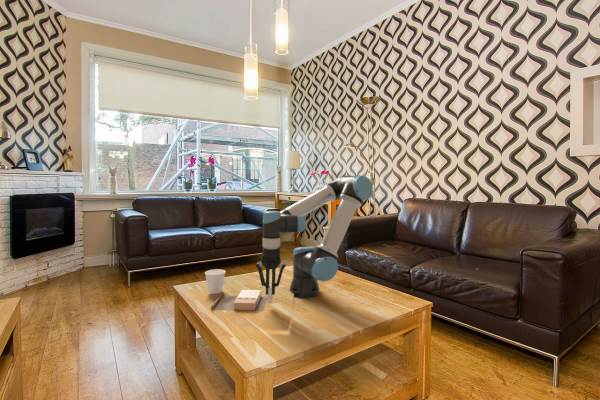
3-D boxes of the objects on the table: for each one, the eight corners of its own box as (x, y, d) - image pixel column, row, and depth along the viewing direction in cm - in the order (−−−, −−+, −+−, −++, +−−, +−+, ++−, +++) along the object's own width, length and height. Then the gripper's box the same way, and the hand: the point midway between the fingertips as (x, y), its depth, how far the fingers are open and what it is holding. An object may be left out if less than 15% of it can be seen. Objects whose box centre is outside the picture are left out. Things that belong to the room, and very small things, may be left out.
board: (268, 299, 151) (268, 293, 151) (262, 313, 134) (262, 307, 134) (222, 298, 152) (222, 292, 152) (211, 312, 135) (211, 306, 135)
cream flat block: (260, 296, 151) (260, 290, 151) (257, 305, 140) (257, 298, 140) (242, 296, 152) (242, 289, 151) (236, 304, 141) (236, 297, 140)
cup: (220, 298, 152) (220, 275, 151) (201, 296, 154) (201, 274, 153) (228, 291, 161) (228, 269, 161) (210, 289, 163) (210, 268, 163)
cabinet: (256, 305, 140) (256, 298, 140) (254, 310, 135) (254, 302, 135) (236, 305, 140) (236, 298, 140) (233, 309, 135) (233, 302, 135)
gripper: (287, 246, 139) (286, 299, 140) (257, 245, 140) (256, 298, 141) (285, 249, 132) (284, 305, 133) (254, 248, 132) (253, 304, 133)
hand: (270, 301), depth 137 cm, fingers closed
